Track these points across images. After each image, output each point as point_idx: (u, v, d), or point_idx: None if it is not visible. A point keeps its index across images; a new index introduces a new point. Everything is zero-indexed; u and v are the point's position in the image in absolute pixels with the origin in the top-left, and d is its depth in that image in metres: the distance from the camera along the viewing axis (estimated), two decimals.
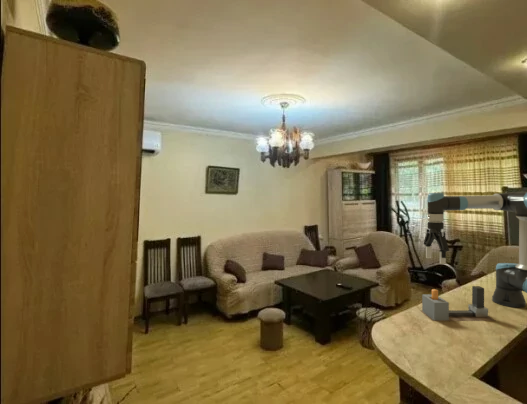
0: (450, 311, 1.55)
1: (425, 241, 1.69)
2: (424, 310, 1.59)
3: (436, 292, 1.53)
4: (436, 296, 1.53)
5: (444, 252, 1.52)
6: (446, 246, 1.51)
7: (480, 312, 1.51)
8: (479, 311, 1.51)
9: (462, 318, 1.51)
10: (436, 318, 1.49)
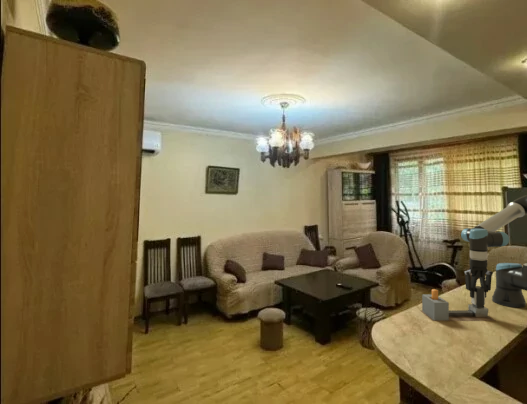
0: (450, 311, 1.55)
1: None
2: (424, 310, 1.59)
3: (436, 292, 1.53)
4: (436, 296, 1.53)
5: (470, 291, 1.54)
6: (468, 286, 1.53)
7: (480, 312, 1.51)
8: (479, 311, 1.51)
9: (462, 318, 1.51)
10: (436, 318, 1.49)
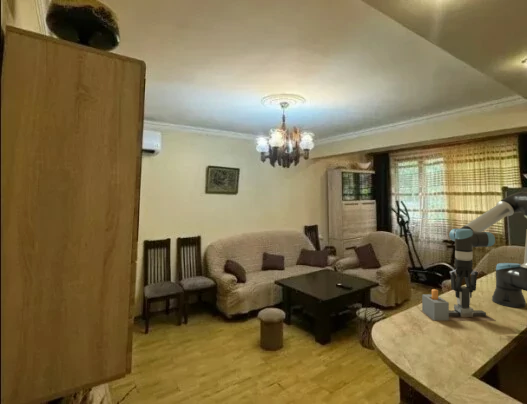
0: (450, 311, 1.55)
1: None
2: (424, 310, 1.59)
3: (436, 292, 1.53)
4: (436, 296, 1.53)
5: (456, 291, 1.54)
6: (453, 286, 1.53)
7: (465, 312, 1.51)
8: (464, 311, 1.51)
9: (462, 318, 1.51)
10: (436, 318, 1.49)
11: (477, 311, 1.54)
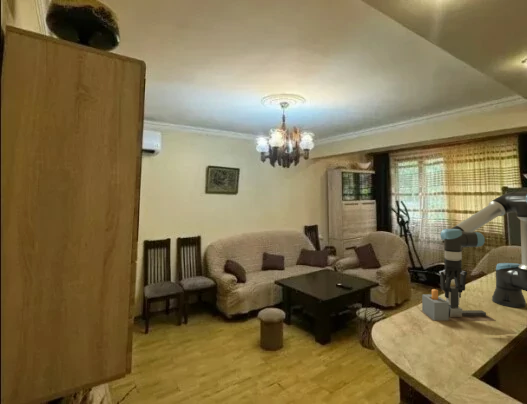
0: None
1: None
2: (424, 310, 1.59)
3: (436, 292, 1.53)
4: (436, 296, 1.53)
5: (445, 292, 1.54)
6: (442, 286, 1.54)
7: (454, 312, 1.52)
8: (453, 311, 1.52)
9: (462, 318, 1.51)
10: (436, 318, 1.49)
11: (477, 311, 1.54)
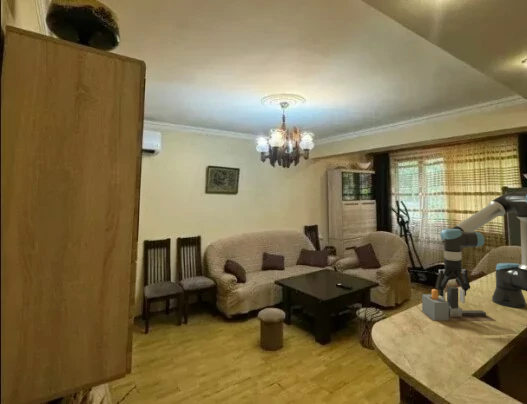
0: None
1: None
2: (424, 310, 1.59)
3: (436, 292, 1.53)
4: (436, 296, 1.53)
5: (439, 290, 1.54)
6: (437, 284, 1.54)
7: (454, 312, 1.52)
8: (453, 311, 1.52)
9: (462, 318, 1.51)
10: (436, 318, 1.49)
11: (477, 311, 1.54)
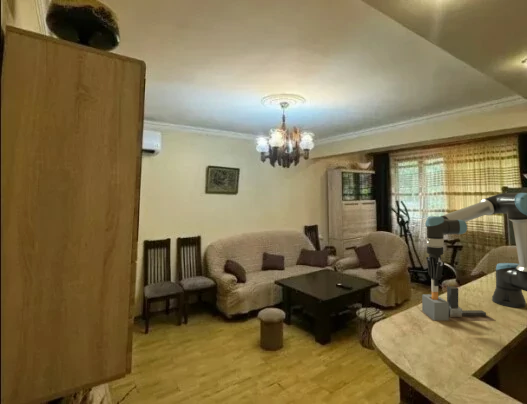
0: None
1: (429, 271, 1.57)
2: (424, 310, 1.59)
3: (436, 294, 1.53)
4: (436, 298, 1.53)
5: (436, 280, 1.52)
6: (440, 276, 1.50)
7: (454, 312, 1.52)
8: (453, 311, 1.52)
9: (462, 318, 1.51)
10: (436, 318, 1.49)
11: (477, 311, 1.54)
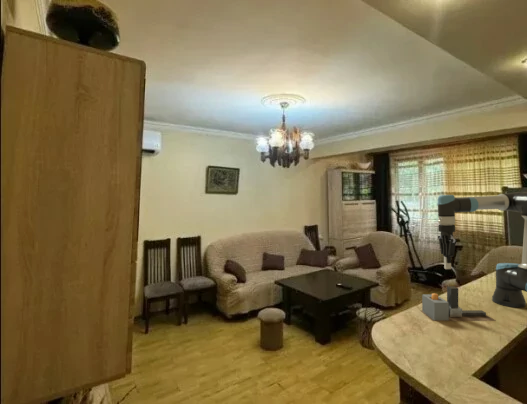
0: None
1: (441, 249, 1.60)
2: (424, 310, 1.59)
3: (436, 296, 1.53)
4: None
5: (449, 257, 1.55)
6: (453, 253, 1.53)
7: (454, 312, 1.52)
8: (453, 311, 1.52)
9: (462, 318, 1.51)
10: (436, 318, 1.49)
11: (477, 311, 1.54)
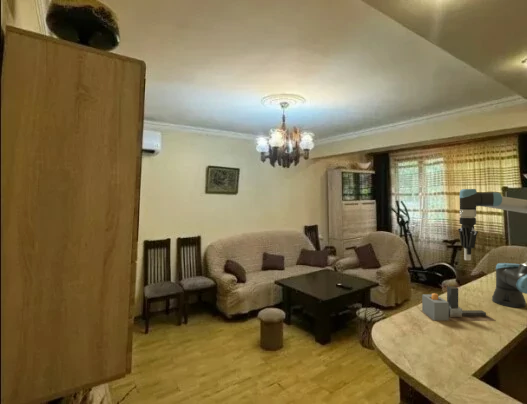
0: None
1: (462, 241, 1.66)
2: (424, 310, 1.59)
3: (436, 296, 1.53)
4: None
5: (470, 249, 1.61)
6: (473, 244, 1.59)
7: (454, 312, 1.52)
8: (453, 311, 1.52)
9: (462, 318, 1.51)
10: (436, 318, 1.49)
11: (477, 311, 1.54)
